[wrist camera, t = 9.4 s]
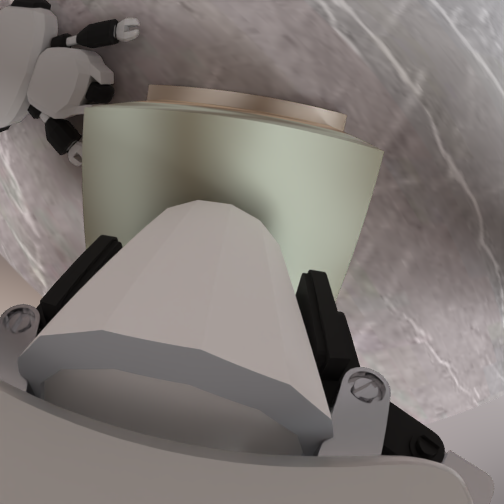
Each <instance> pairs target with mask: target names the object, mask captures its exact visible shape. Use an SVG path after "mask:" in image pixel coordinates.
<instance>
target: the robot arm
mask: <svg viewBox="0 0 504 504" xmlns="http://www.w3.org/2000/svg"><path fill="white" fill-rule="evenodd" d="M121 249H122V243H121V242H118V239H117V237H114V236H108V235H100V236H99V237H98V238H97V239H96V240H95V241H94V242H93V243H92V244H91V245H90V246H89V247H88V248H87V249H86V251H85V252H84V253H83V254H82V255H81V256H80V257H79V258H78V259H77V260H76V261H75V262H74V263H73V264H72V265H71V266H70V268H69V269H68V270H67V271H66V272H65V273H64V274H63V275H62V276H61V277H60V279H59V280H58V281H57V282H56V283H55V284H54V285H53V286H52V288H51V289H50V290H49V291H48V292H47V293H46V295H45V296H44V297H43V298H42V299H41V300H40V304H39V306H38V307H37V308H35V307H33V306H31V305H26V304H21V305H16V306H13V307H11V308H9V309H7V310H6V311H5V312H4V313H3V314H2V315H1V317H0V504H490V502H491V499H492V496H493V493H494V483H493V480H492V478H491V477H490V476H489V475H488V474H487V473H486V472H484V471H482V470H481V469H479V468H478V467H476V466H474V465H473V464H471V463H469V462H468V461H466V460H465V459H463V458H461V457H460V456H459V455H457V454H455V453H454V452H452V451H451V450H450V451H448V452H447V453H446V452H445V448H444V445H443V442H442V440H441V439H440V437H439V436H438V435H437V434H436V433H434V432H433V431H432V430H430V429H429V428H427V427H426V426H424V425H423V424H421V423H420V422H419V421H417V420H416V419H414V418H413V417H411V416H410V415H408V414H407V413H406V412H404V411H403V410H401V409H400V408H398V407H397V406H396V405H394V404H393V403H391V402H390V396H391V391H390V386H389V384H388V382H387V381H386V379H385V378H384V377H383V376H382V375H381V374H379V373H378V372H376V371H374V370H372V369H369V368H365V367H360V365H359V361H358V358H357V354H356V351H355V347H354V344H353V340H352V337H351V334H350V330H349V327H348V324H347V320H346V317H345V315H344V313H343V312H339V311H337V307H336V304H335V300H334V297H333V294H332V290H331V287H330V284H329V280H328V277H327V274H326V272H322V271H316V270H309V271H308V273H302V275H301V278H300V282H299V285H298V288H297V292H296V295H295V296H296V299H297V302H298V306H299V309H300V312H301V315H302V319H303V322H304V325H305V329H306V332H307V335H308V339H309V342H310V345H311V349H312V352H313V355H314V359H315V362H316V366H317V369H318V372H319V376H320V379H321V383H322V386H323V390H324V393H325V397H326V400H327V404H328V407H329V411H330V415H331V418H332V425H333V435H334V437H332V438H327V439H323V441H322V442H321V444H320V445H319V446H318V448H317V449H316V450H315V452H314V454H313V456H289V455H271V454H258V453H247V452H238V451H230V450H223V449H216V448H209V447H203V446H197V445H191V444H186V443H181V442H176V441H171V440H167V439H162V438H158V437H154V436H149V435H145V434H142V433H138V432H134V431H130V430H127V429H123V428H120V427H116V426H113V425H110V424H107V423H104V422H100V421H97V420H94V419H92V418H89V417H86V416H83V415H80V414H77V413H75V412H72V411H69V410H67V409H64V408H62V407H59V406H57V405H54V404H52V403H49V402H47V401H45V400H42V399H40V398H38V397H36V396H35V394H34V392H33V390H32V388H31V386H30V383H29V381H28V379H26V378H25V377H23V376H22V375H21V374H19V369H18V358H19V357H20V355H21V354H22V353H23V352H24V351H25V349H26V348H27V347H28V346H29V345H30V344H31V342H32V341H33V340H34V339H35V338H36V337H37V336H38V334H39V333H40V332H41V331H42V330H43V329H44V328H45V327H46V325H47V324H48V323H49V322H50V321H51V320H52V319H53V318H54V317H55V315H56V314H57V313H58V312H59V311H60V310H61V309H62V308H63V307H64V306H65V305H66V304H67V303H68V302H69V300H70V299H71V298H72V297H73V296H74V295H75V294H76V293H77V292H78V291H79V290H80V289H81V288H82V287H83V286H84V285H85V284H86V283H87V282H88V281H89V280H90V279H91V278H92V277H93V276H94V275H95V274H96V273H97V272H98V271H99V270H100V269H101V268H102V267H103V266H104V265H105V264H106V263H107V262H108V261H109V260H110V259H111V258H112V257H113V256H114V255H115V254H116V253H118V252H119V251H120V250H121Z"/></svg>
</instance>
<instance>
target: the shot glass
mask: <svg viewBox="0 0 504 504" xmlns="http://www.w3.org/2000/svg"><path fill="white" fill-rule="evenodd" d="M18 369H19V374H21V375H22V376H23V377H25V378H26V379H28V381H29V383H30V386H31V388H32V390H33V392H34V394H35V396H36V397H38V398H40V399H42V400H45V401H47V402H49V403H52V404H54V405H57V406H59V407H62V408H64V409H67V410H69V411H72V412H75V413H77V414H80V415H83V416H86V417H89V418H92V419H94V420H97V421H100V422H104V423H107V424H110V425H113V426H116V427H120V428H123V429H127V430H130V431H134V432H138V433H142V434H145V435H149V436H154V437H158V438H162V439H167V440H171V441H176V442H181V443H186V444H191V445H197V446H203V447H209V448H216V449H223V450H230V451H238V452H247V453H258V454H271V455H289V456H313V454H314V452H315V450H316V449H317V448H318V446H319V445H320V444H321V442H322V441H323V439H327V438H332V437H334V435H333V425H332V418H331V415H330V411H329V407H328V404H327V400H326V397H325V393H324V390H323V386H322V383H321V379H320V376H319V372H318V369H317V366H316V362H315V359H314V355H313V352H312V349H311V345H310V342H309V339H308V335H307V332H306V329H305V325H304V322H303V319H302V315H301V312H300V309H299V306H298V302H297V299H296V296H295V293H294V290H293V286H292V283H291V280H290V277H289V274H288V271H287V267H286V264H285V261H284V258H283V255H282V252H281V249H280V246H279V244H278V243H277V241H276V240H275V239H274V237H273V236H272V235H271V234H270V232H269V231H268V230H267V228H266V227H265V226H264V225H263V223H262V222H261V221H260V220H258V219H257V218H255V217H253V216H251V215H250V214H248V213H246V212H244V211H242V210H241V209H239V208H237V207H235V206H233V205H232V204H225V203H218V202H211V201H203V200H196V201H192V202H188V203H184V204H181V205H177V206H173V207H170V208H167V209H166V210H165V211H163V212H162V213H161V214H160V215H159V216H157V217H156V218H155V219H154V220H153V221H152V222H150V223H149V224H148V225H147V226H146V227H145V228H143V229H142V230H141V231H140V232H139V233H138V234H137V235H136V236H135V237H134V238H132V239H131V240H130V241H129V242H128V243H127V244H126V245H125V246H124V247H123V248H122V249H121V250H120V251H119V252H118V253H116V254H115V255H114V256H113V257H112V258H111V259H110V260H109V261H108V262H107V263H106V264H105V265H104V266H103V267H102V268H101V269H100V270H99V271H98V272H97V273H96V274H95V275H94V276H93V277H92V278H91V279H90V280H89V281H88V282H87V283H86V284H85V285H84V286H83V287H82V288H81V289H80V290H79V291H78V292H77V293H76V294H75V295H74V296H73V297H72V298H71V299H70V300H69V302H68V303H67V304H66V305H65V306H64V307H63V308H62V309H61V310H60V311H59V312H58V313H57V314H56V315H55V317H54V318H53V319H52V320H51V321H50V322H49V323H48V324H47V325H46V327H45V328H44V329H43V330H42V331H41V332H40V333H39V334H38V336H37V337H36V338H35V339H34V340H33V341H32V342H31V344H30V345H29V346H28V347H27V348H26V349H25V351H24V352H23V353H22V354H21V355H20V357H19V358H18Z"/></svg>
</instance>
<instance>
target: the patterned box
mask: <svg viewBox="0 0 504 504" xmlns="http://www.w3.org/2000/svg"><path fill="white" fill-rule="evenodd" d="M346 118H347V115H345V114H341V113H337V112H334V111H330V110H326V109H322V108H318V107H313V106H309V105H304V104H300V103H295V102H290V101H285V100H280V99H275V98H270V97H264V96H258V95H252V94H245V93H239V92H231V91H224V90H215V89H206V88H196V87H184V86H170V85H149V87H148V94H147V101H135V102H125V103H115V104H107V105H99V106H92V107H85V108H84V121H83V142H82V195H83V216H84V231H85V243H86V249H87V248H88V247H89V246H90V245H91V244H92V243H93V242H94V241H95V240H96V239H97V238H98V237H99V236H100V235H108V236H114V237H117V239H118V242H121V243H122V248H123V247H124V246H125V245H126V244H127V243H128V242H129V241H130V240H131V239H132V238H134V237H135V236H136V235H137V234H138V233H139V232H140V231H141V230H142V229H143V228H145V227H146V226H147V225H148V224H149V223H150V222H152V221H153V220H154V219H155V218H156V217H157V216H159V215H160V214H161V213H162V212H163V211H165V210H166V209H167V208H170V207H173V206H177V205H181V204H184V203H188V202H192V201H196V200H203V201H211V202H218V203H225V204H232V205H233V206H235V207H237V208H239V209H241V210H242V211H244V212H246V213H248V214H250V215H251V216H253V217H255V218H257V219H258V220H260V221H261V222H262V223H263V225H264V226H265V227H266V228H267V230H268V231H269V232H270V234H271V235H272V236H273V237H274V239H275V240H276V241H277V243H278V244H279V246H280V249H281V252H282V255H283V258H284V261H285V264H286V267H287V271H288V274H289V277H290V280H291V283H292V286H293V290H294V293H295V295H296V292H297V288H298V285H299V282H300V278H301V275H302V273H308V271H309V270H316V271H322V272H326V274H327V277H328V280H329V284H330V287H331V290H332V294H333V297H334V300H335V301H336V299H337V296H338V294H339V291H340V288H341V286H342V283H343V280H344V278H345V275H346V272H347V270H348V267H349V264H350V261H351V258H352V256H353V253H354V250H355V247H356V244H357V241H358V238H359V235H360V232H361V229H362V226H363V223H364V220H365V217H366V214H367V210H368V207H369V204H370V201H371V197H372V194H373V191H374V187H375V184H376V180H377V177H378V173H379V170H380V166H381V162H382V158H383V155H384V151H382V150H380V149H378V148H376V147H374V146H372V145H370V144H368V143H366V142H364V141H362V140H360V139H358V138H356V137H354V136H351V135H349V134H347V133H345V132H343V131H344V127H345V123H346Z"/></svg>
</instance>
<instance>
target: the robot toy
mask: <svg viewBox="0 0 504 504" xmlns="http://www.w3.org/2000/svg"><path fill="white" fill-rule="evenodd" d="M50 7H51V5H50V4H49V3H48V2H47V1H46V0H14V1H13V3H12V4H11V5H9V6H7V7H4V8H2V9H0V132H2V131H5V130H8V129H9V127H10V125H12V124H15V123H18V122H21V121H22V120H23V119H24V118H25V117H26V115H27V114H28V113H30V114H31V115H32V117H33V118H34V119H38V118H41V119H42V121H43V122H44V123H45V130H46V137H47V140H48V141H49V143H50V144H51V145H52V146H53V147H54V149H55V150H56V151H57V152H58V153H59V154H60V155H63V154H65V153H67V154H68V158H69V161H70V162H71V163H72V164H74V165H75V166H81V165H82V158H81V157H82V143H81V142H79V139H80V138H81V137H82V136H81V135H80V133H79V132H78V131H77V130H76V129H75V128H74V127H73V125H72V124H71V123H70V122H69V121H67V120H64V118H68V117H71V116H75V115H79V114H84V108H85V107H92V106H99V105H104V104H106V103H108V102H110V101H111V99H112V98H113V96H114V88H113V87H112V86H111V85H109V84H114V72H112V71H111V70H110V69H109V68H108V67H107V66H106V65H105V64H104V62H103V60H102V57H101V56H99V55H98V54H97V53H96V52H94V51H89V50H82V49H74V48H71V46H73V45H77V44H79V45H82V46H85V47H89V48H96V47H102V46H107V45H112V44H117V43H119V40H120V41H123V42H128V41H130V40H133V39H135V38H136V37H137V36H138V35H139V30H138V29H136V30H133V31H129V27H135V26H140V22H139V21H138V19H137V18H131V17H127V18H125V19H124V20H122V21H120V22H118V21H117V20H116V19H113V20H108V21H103V22H98V23H94V24H90V25H88V26H87V27H85V28H84V29H83V30H82V31H81V32H79V33H78V34H77V35H75V36H72V37H71V35H69V34H68V33H67V34H63V35H60V36H57V34H58V22H57V17H56V16H55V15H54V14H53V13H52V12H51V11H50ZM93 102H95V103H93Z"/></svg>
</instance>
